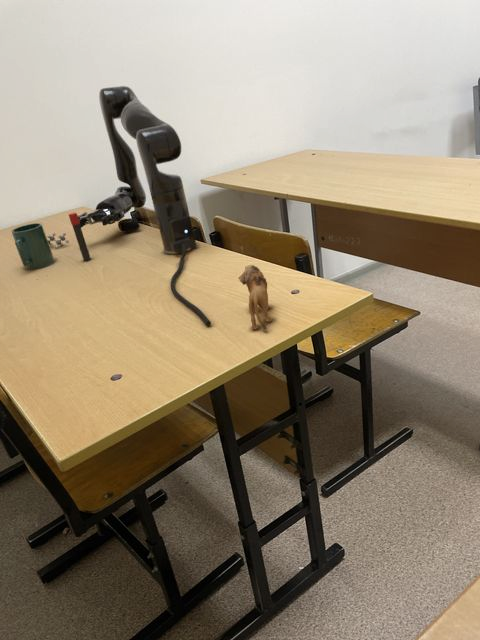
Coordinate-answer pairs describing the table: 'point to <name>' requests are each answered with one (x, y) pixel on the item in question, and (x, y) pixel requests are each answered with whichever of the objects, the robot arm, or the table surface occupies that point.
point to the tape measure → (128, 225)
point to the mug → (33, 246)
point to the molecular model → (57, 240)
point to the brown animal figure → (256, 293)
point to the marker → (79, 236)
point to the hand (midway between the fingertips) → (90, 223)
